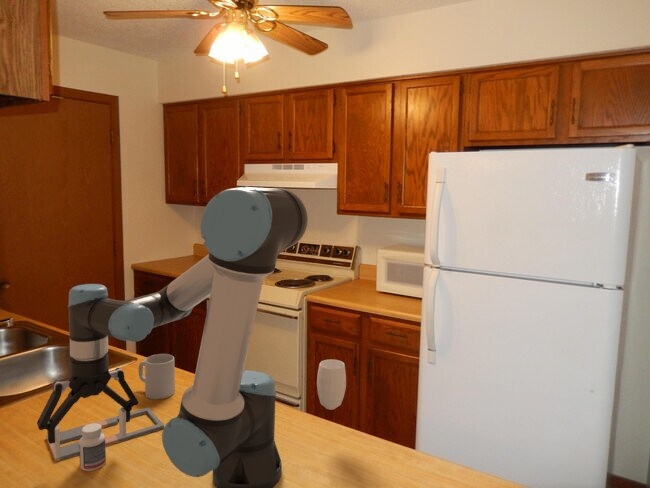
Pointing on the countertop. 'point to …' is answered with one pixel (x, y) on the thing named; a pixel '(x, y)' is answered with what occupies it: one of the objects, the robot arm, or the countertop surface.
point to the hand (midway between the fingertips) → (91, 444)
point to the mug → (158, 376)
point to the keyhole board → (77, 433)
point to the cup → (331, 383)
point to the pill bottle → (92, 447)
